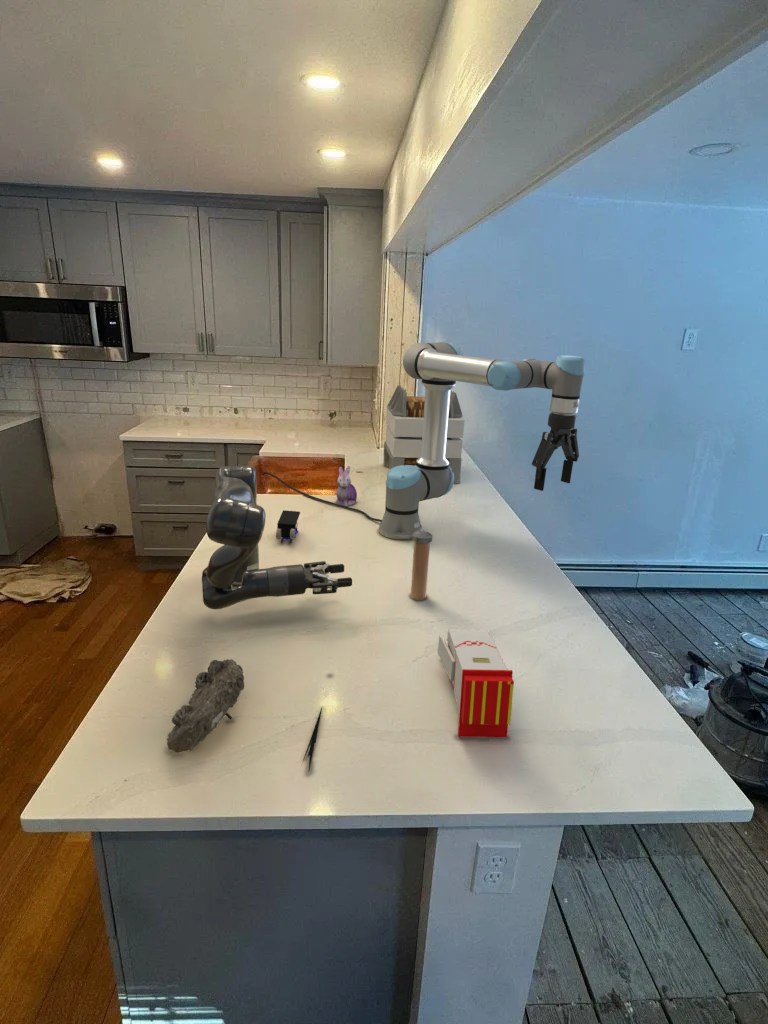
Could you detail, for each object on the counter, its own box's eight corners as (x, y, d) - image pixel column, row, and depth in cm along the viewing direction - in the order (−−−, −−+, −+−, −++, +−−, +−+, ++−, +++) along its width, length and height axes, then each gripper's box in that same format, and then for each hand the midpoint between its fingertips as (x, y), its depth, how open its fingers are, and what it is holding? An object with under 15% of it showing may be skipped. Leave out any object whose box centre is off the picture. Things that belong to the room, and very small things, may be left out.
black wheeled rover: (295, 549, 186) (301, 528, 200) (295, 529, 183) (300, 509, 196) (275, 549, 186) (282, 527, 199) (274, 528, 183) (281, 508, 196)
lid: (430, 536, 154) (430, 530, 153) (433, 543, 149) (434, 538, 149) (411, 536, 153) (411, 530, 153) (414, 543, 148) (414, 538, 148)
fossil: (192, 660, 117) (244, 628, 112) (224, 691, 120) (276, 661, 115) (142, 746, 98) (202, 712, 93) (182, 779, 101) (242, 748, 96)
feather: (331, 679, 122) (336, 673, 122) (307, 777, 96) (313, 769, 95) (324, 675, 122) (329, 669, 121) (298, 772, 95) (304, 764, 95)
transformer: (382, 463, 289) (386, 382, 275) (445, 464, 293) (451, 384, 279) (390, 482, 257) (394, 392, 243) (460, 483, 261) (468, 394, 247)
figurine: (340, 508, 222) (341, 471, 217) (330, 500, 231) (330, 464, 226) (362, 505, 226) (363, 469, 221) (351, 497, 235) (352, 462, 230)
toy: (488, 613, 130) (523, 677, 101) (484, 667, 133) (517, 744, 104) (435, 612, 130) (455, 676, 101) (432, 666, 133) (451, 743, 103)
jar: (424, 592, 159) (429, 532, 153) (427, 600, 155) (431, 539, 149) (409, 592, 159) (413, 532, 153) (411, 600, 155) (415, 539, 149)
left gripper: (289, 579, 135) (355, 572, 140) (281, 556, 148) (341, 550, 153) (289, 607, 137) (354, 600, 142) (281, 582, 150) (341, 576, 155)
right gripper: (548, 419, 148) (537, 496, 155) (598, 411, 163) (586, 482, 171) (525, 414, 153) (515, 489, 160) (575, 407, 169) (564, 476, 176)
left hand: (347, 574), depth 147 cm, fingers open, 8 cm apart
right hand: (552, 485), depth 166 cm, fingers open, 13 cm apart
